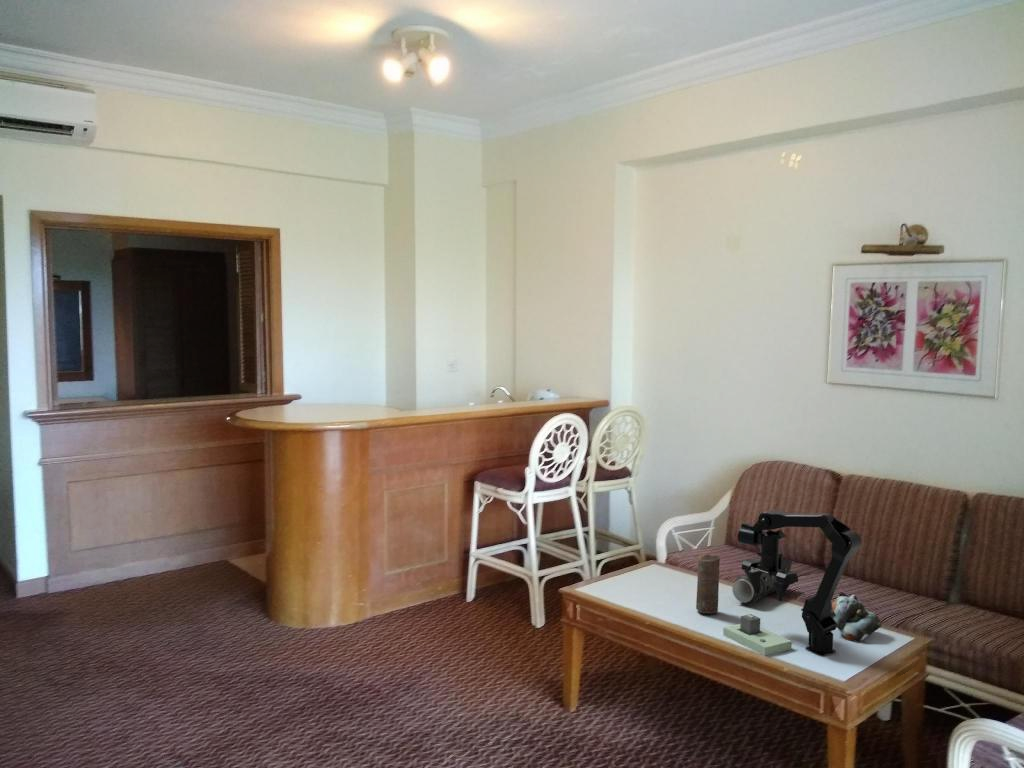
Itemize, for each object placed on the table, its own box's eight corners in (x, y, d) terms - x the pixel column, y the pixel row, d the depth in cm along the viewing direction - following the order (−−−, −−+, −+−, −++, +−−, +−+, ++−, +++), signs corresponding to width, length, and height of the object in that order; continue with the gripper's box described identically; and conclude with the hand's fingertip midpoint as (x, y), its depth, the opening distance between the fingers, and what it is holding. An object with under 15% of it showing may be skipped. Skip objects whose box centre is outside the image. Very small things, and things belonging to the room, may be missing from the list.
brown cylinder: (720, 616, 273) (722, 559, 271) (699, 616, 273) (700, 558, 271) (714, 609, 280) (716, 552, 279) (693, 608, 280) (695, 552, 279)
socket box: (791, 649, 246) (791, 640, 245) (764, 655, 241) (765, 646, 240) (749, 629, 262) (749, 621, 261) (723, 635, 256) (723, 626, 256)
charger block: (759, 640, 253) (760, 617, 252) (749, 642, 251) (750, 619, 250) (750, 635, 256) (750, 612, 256) (740, 637, 255) (740, 614, 254)
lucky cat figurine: (856, 645, 249) (834, 602, 252) (832, 646, 260) (812, 605, 263) (890, 625, 254) (869, 583, 257) (865, 627, 265) (845, 587, 268)
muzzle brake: (791, 592, 300) (792, 564, 299) (754, 610, 280) (755, 581, 279) (767, 586, 307) (768, 559, 306) (729, 603, 287) (730, 574, 286)
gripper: (811, 553, 252) (809, 602, 253) (765, 540, 268) (763, 585, 269) (786, 558, 247) (785, 607, 248) (741, 544, 263) (739, 590, 264)
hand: (768, 597), depth 257 cm, fingers open, 9 cm apart
